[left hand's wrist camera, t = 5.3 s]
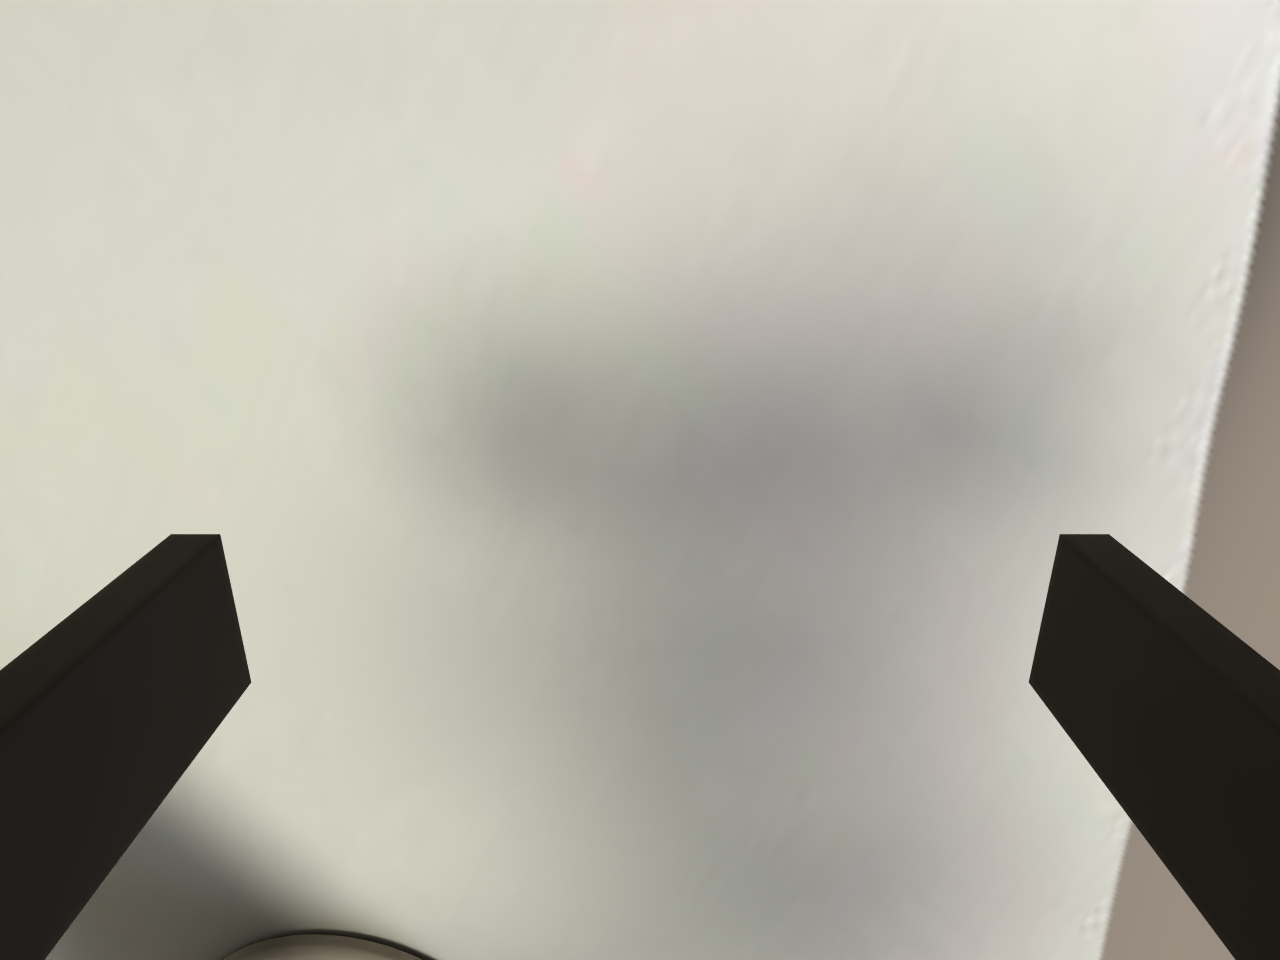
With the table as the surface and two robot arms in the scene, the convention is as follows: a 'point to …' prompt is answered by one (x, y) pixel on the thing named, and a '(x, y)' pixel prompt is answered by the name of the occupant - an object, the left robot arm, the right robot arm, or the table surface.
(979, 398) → the table surface
